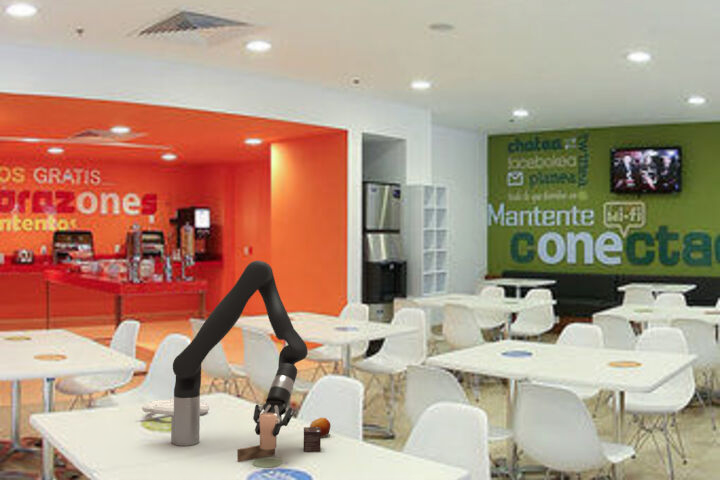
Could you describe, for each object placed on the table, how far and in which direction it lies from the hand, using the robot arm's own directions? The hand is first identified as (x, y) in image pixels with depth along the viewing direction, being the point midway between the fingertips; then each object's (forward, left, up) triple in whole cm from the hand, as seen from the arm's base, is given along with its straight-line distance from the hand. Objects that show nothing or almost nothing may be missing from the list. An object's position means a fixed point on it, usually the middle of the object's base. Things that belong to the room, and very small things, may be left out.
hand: (265, 434), depth 258 cm
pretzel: (-64, +48, -10) cm, 81 cm away
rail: (-6, +6, -10) cm, 13 cm away
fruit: (+4, +40, -10) cm, 41 cm away
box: (+8, +22, -10) cm, 25 cm away
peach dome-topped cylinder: (0, +2, -5) cm, 5 cm away
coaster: (0, +2, -10) cm, 10 cm away
